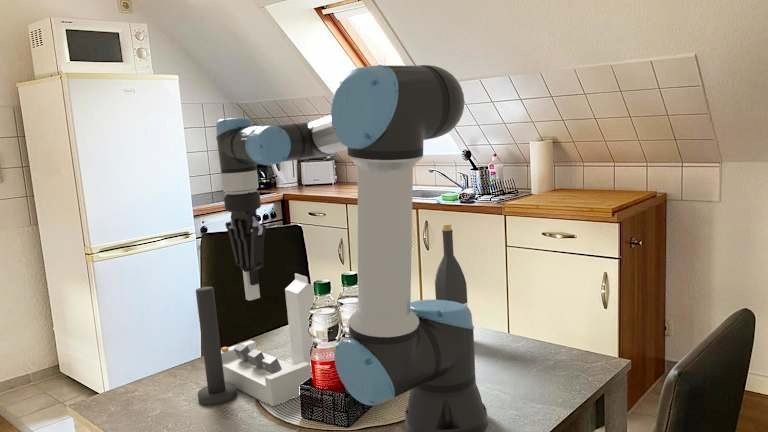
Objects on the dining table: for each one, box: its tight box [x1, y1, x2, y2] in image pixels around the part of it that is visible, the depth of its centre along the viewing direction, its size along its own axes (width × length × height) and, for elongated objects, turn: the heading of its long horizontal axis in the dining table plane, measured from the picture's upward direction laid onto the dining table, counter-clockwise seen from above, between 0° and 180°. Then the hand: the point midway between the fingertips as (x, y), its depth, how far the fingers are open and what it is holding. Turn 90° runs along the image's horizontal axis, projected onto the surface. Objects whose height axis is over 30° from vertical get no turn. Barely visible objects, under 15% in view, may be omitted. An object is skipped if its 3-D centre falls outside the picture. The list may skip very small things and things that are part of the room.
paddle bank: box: [234, 342, 282, 374], centre depth 141 cm, size 18×2×4 cm, turn 43°
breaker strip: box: [221, 340, 312, 407], centre depth 142 cm, size 24×10×7 cm, turn 43°
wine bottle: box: [434, 223, 469, 308], centre depth 156 cm, size 8×8×30 cm
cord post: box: [195, 286, 238, 406], centre depth 136 cm, size 8×8×24 cm
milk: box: [284, 273, 314, 367], centre depth 150 cm, size 6×6×22 cm
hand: (253, 298), depth 140 cm, fingers closed
